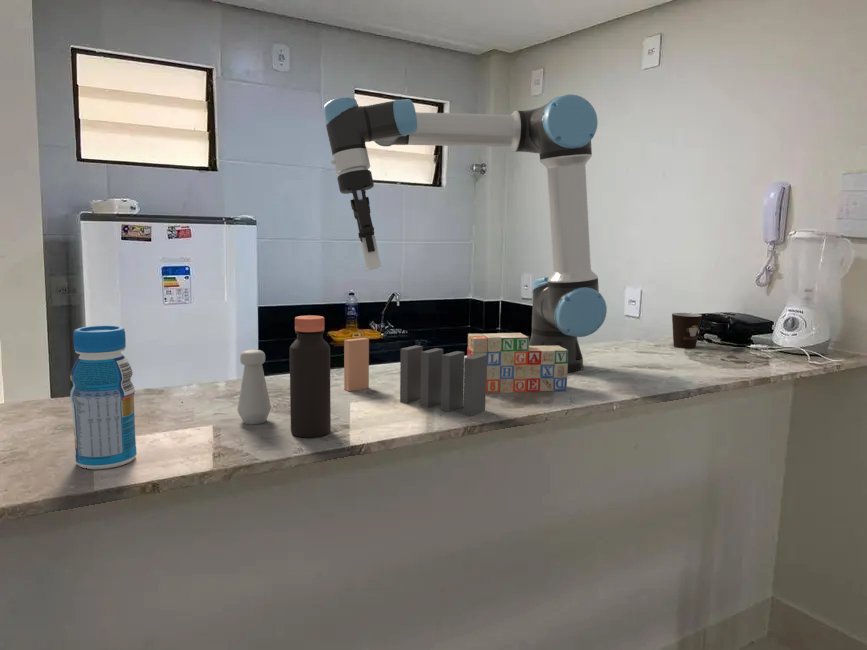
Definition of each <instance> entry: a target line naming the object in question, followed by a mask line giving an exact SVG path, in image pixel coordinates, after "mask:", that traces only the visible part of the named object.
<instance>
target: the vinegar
mask: <svg viewBox="0 0 867 650" xmlns="http://www.w3.org/2000/svg"><path fill="white" fill-rule="evenodd" d="M294 331H295V333H294V334H296V338H295V340H294V341H293V342H292V343H291V345H290V346H289V394H290V395H289V397H290V399H289V401H290V403H289V404H290V405H289V407H290V408H289V409H290V411H289V412H290V433H291V434H292V435H293V436H295V437H297V438H298V437H299V438H305V439H307V438H308V439H311V438H312V439H313V438H320V437H323V436H326V435H328V434H329V433H330V432H331V428H332V426H331V422H332V421H331V419H332V418H331V413H332V412H331V403H332V402H331V346H330V345H329V343H328V342H327V341H326V340H325V339H324V338H323V335H324V333H325V317H324V316H321V315H311V314H308V315H299V316H295V317H294Z"/></svg>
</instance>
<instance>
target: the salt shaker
mask: <svg viewBox="0 0 867 650" xmlns="http://www.w3.org/2000/svg"><path fill="white" fill-rule="evenodd" d="M239 360H240V361H239V362H240V364H242V365H243V373H242V380H241V385H240V392H239V397H238V402H237V403H238V404H237V413H238V416H240V419H241V420H242V422H243V424H244V425H252V426H254V425H260V424H263V423H265V422H266V421H267V419H268V417H269V414H270V413H271V409H272V405H271V402H270V396H269V391H268V386H267V383H266V377H265V372H264V368H263V364H264V363H265V361H266V354H265V352H264V350H261V349H246V350H243V351H242V352H241V354H240V357H239Z"/></svg>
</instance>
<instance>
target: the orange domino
mask: <svg viewBox="0 0 867 650" xmlns="http://www.w3.org/2000/svg"><path fill="white" fill-rule="evenodd" d="M343 346H344V347H343V352H344V353H343V355H344V356H343V357H344V358H343V360H344V361H343V362H344V363H343V365H344V366H343V373H344V375H343V376H344V377H343V379H344V381H343V382H344V383H343V384H344V386H343V387H344V388H343V390H344V391H347V392H353V391H359V390H366V389H369V388H370V386H369V385H370V383H369V382H370V339H369V338H367V337H358V338H349V339H344V340H343Z"/></svg>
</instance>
